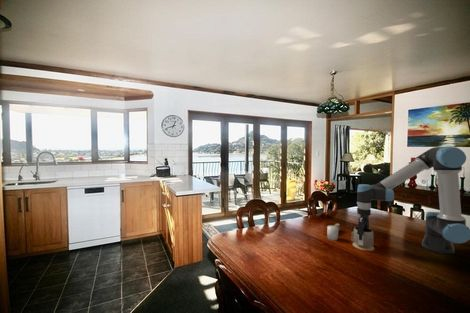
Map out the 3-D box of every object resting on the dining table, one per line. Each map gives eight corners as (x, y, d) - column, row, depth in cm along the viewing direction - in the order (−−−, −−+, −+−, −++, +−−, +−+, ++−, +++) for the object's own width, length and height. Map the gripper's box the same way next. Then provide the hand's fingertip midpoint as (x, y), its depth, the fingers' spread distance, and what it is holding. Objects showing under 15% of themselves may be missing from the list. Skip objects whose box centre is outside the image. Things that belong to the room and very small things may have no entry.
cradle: (360, 235, 155) (360, 228, 155) (354, 241, 146) (354, 233, 145) (336, 229, 167) (336, 223, 167) (329, 234, 157) (329, 227, 157)
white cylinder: (339, 238, 150) (339, 227, 150) (335, 241, 145) (335, 229, 145) (329, 235, 155) (329, 224, 155) (325, 238, 150) (325, 227, 150)
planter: (372, 249, 130) (372, 233, 129) (352, 244, 136) (352, 229, 136) (374, 243, 138) (374, 228, 138) (355, 238, 145) (355, 225, 145)
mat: (376, 246, 137) (376, 245, 137) (371, 252, 129) (371, 252, 129) (355, 241, 146) (355, 240, 146) (350, 246, 137) (350, 245, 137)
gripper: (362, 204, 147) (362, 235, 148) (351, 210, 131) (351, 245, 132) (375, 206, 142) (374, 238, 143) (365, 213, 126) (365, 249, 126)
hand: (363, 242), depth 137 cm, fingers closed on planter, 11 cm apart
